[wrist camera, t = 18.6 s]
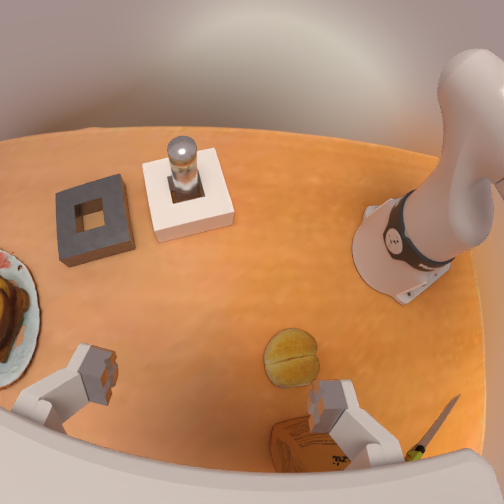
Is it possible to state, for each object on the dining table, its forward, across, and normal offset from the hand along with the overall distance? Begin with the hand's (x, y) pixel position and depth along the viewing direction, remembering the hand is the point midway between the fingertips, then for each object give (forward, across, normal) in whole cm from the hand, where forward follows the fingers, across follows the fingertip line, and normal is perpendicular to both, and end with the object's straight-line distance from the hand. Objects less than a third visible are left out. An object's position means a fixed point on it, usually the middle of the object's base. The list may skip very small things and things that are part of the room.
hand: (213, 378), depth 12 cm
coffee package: (+16, -16, +33) cm, 40 cm away
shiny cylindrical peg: (+42, +8, +7) cm, 43 cm away
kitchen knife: (+15, -38, +34) cm, 53 cm away
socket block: (+37, +22, +12) cm, 45 cm away
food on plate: (+23, +41, +26) cm, 54 cm away
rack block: (+42, +8, +7) cm, 43 cm away
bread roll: (+26, -12, +24) cm, 37 cm away
